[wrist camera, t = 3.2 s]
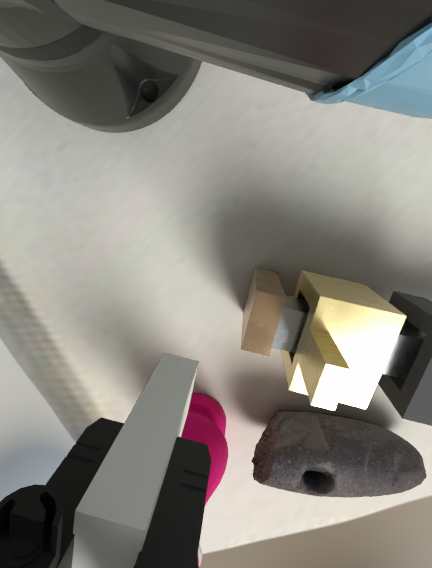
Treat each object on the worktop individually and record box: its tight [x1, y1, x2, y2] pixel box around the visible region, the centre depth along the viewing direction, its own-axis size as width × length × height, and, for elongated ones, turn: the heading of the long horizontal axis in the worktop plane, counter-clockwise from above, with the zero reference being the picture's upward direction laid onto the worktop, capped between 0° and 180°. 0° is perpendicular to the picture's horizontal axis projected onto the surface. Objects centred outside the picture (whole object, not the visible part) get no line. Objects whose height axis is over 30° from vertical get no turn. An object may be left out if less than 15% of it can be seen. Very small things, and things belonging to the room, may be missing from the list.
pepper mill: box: [181, 393, 228, 566], centre depth 22 cm, size 7×7×20 cm
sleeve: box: [281, 270, 407, 411], centre depth 19 cm, size 5×7×11 cm
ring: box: [378, 291, 432, 426], centre depth 21 cm, size 2×7×7 cm, turn 169°
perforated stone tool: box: [252, 411, 426, 497], centre depth 26 cm, size 15×5×7 cm, turn 85°
